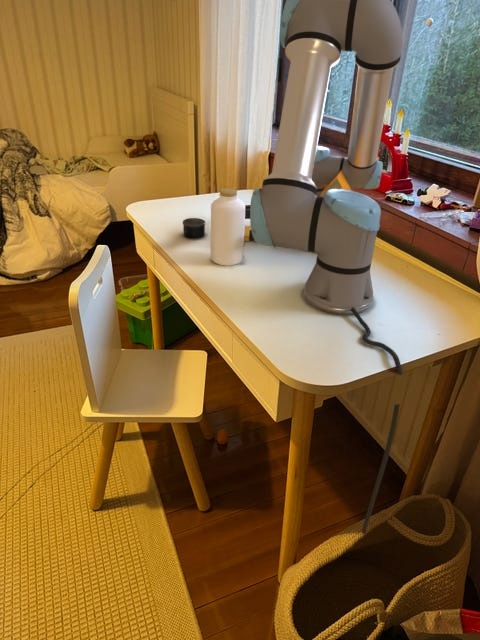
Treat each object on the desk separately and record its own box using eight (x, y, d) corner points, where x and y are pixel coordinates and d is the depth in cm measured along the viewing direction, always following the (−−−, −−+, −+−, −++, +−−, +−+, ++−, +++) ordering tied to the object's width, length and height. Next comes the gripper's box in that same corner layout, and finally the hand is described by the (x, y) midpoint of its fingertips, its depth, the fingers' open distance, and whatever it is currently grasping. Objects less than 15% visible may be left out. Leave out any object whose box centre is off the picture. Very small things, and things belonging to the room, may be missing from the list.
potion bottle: (229, 270, 118) (231, 198, 108) (204, 260, 122) (203, 190, 112) (249, 259, 123) (253, 190, 114) (224, 251, 128) (225, 183, 118)
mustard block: (265, 241, 135) (265, 236, 134) (244, 240, 134) (244, 235, 133) (262, 230, 141) (262, 225, 141) (241, 230, 141) (242, 225, 140)
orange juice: (312, 250, 130) (321, 176, 119) (317, 238, 137) (326, 167, 126) (340, 254, 128) (352, 179, 117) (344, 242, 135) (356, 171, 125)
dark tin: (205, 239, 134) (205, 225, 132) (182, 239, 133) (182, 225, 131) (205, 231, 139) (205, 217, 137) (183, 230, 139) (182, 217, 137)
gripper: (321, 236, 126) (266, 257, 113) (254, 211, 141) (199, 227, 128) (325, 209, 122) (268, 227, 109) (255, 186, 137) (198, 200, 124)
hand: (231, 227), depth 119 cm, fingers open, 13 cm apart
